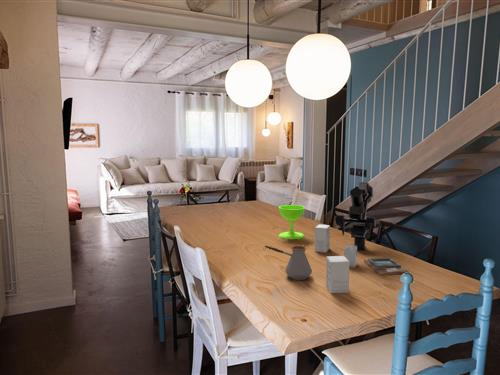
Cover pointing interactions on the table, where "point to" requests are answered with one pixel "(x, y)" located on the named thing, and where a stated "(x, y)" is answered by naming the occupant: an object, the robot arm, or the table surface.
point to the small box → (322, 238)
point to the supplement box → (337, 274)
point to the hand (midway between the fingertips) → (352, 235)
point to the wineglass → (291, 219)
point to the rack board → (385, 266)
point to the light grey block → (351, 255)
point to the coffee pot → (296, 263)
